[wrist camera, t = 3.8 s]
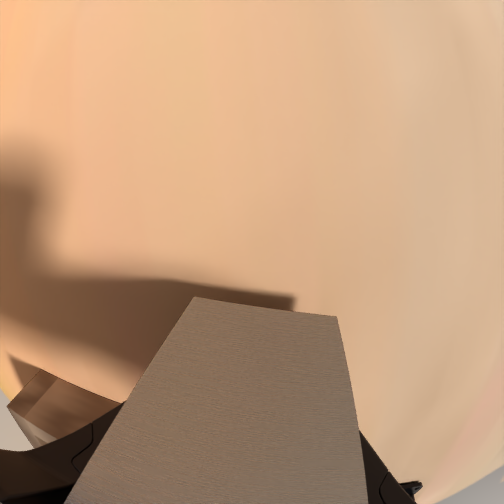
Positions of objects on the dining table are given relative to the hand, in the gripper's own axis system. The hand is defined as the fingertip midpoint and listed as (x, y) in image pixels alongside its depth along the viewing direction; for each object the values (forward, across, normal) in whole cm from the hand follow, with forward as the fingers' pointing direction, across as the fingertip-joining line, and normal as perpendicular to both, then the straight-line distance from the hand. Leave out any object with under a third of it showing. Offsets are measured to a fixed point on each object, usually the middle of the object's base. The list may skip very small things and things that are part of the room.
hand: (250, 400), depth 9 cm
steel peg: (+2, 0, 0) cm, 2 cm away
